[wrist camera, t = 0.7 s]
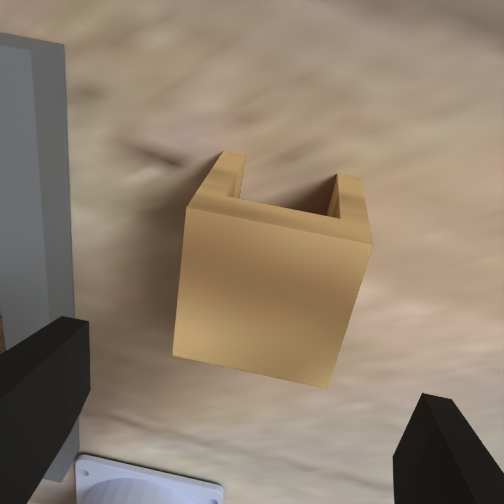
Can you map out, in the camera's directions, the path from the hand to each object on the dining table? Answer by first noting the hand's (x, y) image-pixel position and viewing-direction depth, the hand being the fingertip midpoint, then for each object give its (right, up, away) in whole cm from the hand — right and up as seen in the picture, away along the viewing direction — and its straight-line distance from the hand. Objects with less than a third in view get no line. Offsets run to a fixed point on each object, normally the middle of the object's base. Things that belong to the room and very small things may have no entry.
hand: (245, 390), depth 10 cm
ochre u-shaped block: (+1, +4, +7) cm, 8 cm away
